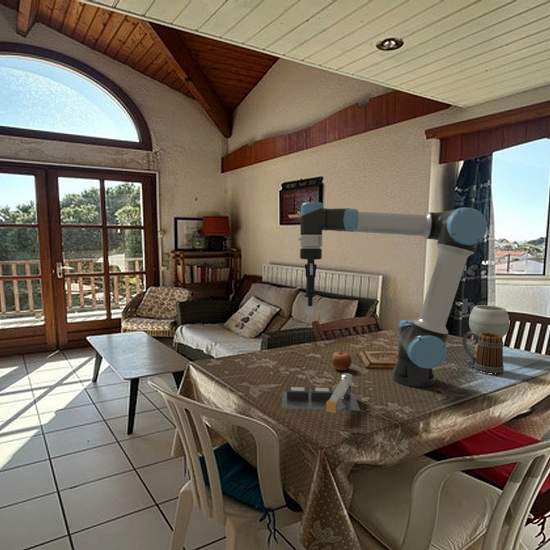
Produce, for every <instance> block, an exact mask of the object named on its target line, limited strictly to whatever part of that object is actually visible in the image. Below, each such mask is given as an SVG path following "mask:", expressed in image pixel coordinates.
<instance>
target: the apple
mask: <svg viewBox="0 0 550 550" xmlns="http://www.w3.org/2000/svg"><path fill="white" fill-rule="evenodd" d="M331 364H332V366H333V368H335V369H336V370H338V371H346V370H348V369H349V368H350V367H351V365H352V357H351V355H350V354H349V353H347V352H345V351H343V350H342V349H341V350H340V351H336V352H334V353H333V354H332V356H331Z"/></svg>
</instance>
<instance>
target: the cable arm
mask: <svg viewBox="0 0 550 550" xmlns="http://www.w3.org/2000/svg"><path fill="white" fill-rule="evenodd" d="M350 386H351V387H352V386H353V374H351V373H348V372H344V373H341V377H340V381H339V382H338V384H337V385H336V387H335V389H334V390H333V394H332V396H331V397H330V399H329V400H328V401H327V402H326V410H325V412H327V413H333V414H336V413H337V412H338V410H337V408H338V406H339V404H340V402H341V400H342V398H343V396H344V394H345V392H346V391H347V389H348V387H350Z"/></svg>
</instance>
